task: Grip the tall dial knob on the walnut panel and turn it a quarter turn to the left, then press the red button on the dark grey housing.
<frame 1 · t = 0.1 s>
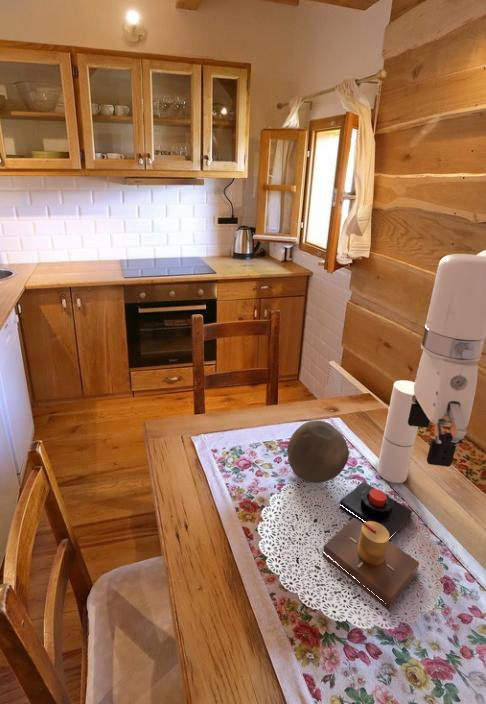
hand: (427, 443, 63), 33 cm above the table, tool pointing down, fingers open, 9 cm apart
button box: (374, 513, 92), on the table
knob panel: (368, 565, 80), on the table
cylindrical container: (391, 473, 105), on the table
red button: (377, 497, 90), point 4 cm above the table, slide at 0.1 cm
dial knob: (373, 542, 78), point 6 cm above the table, hinge at 0.0°
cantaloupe: (313, 477, 103), on the table
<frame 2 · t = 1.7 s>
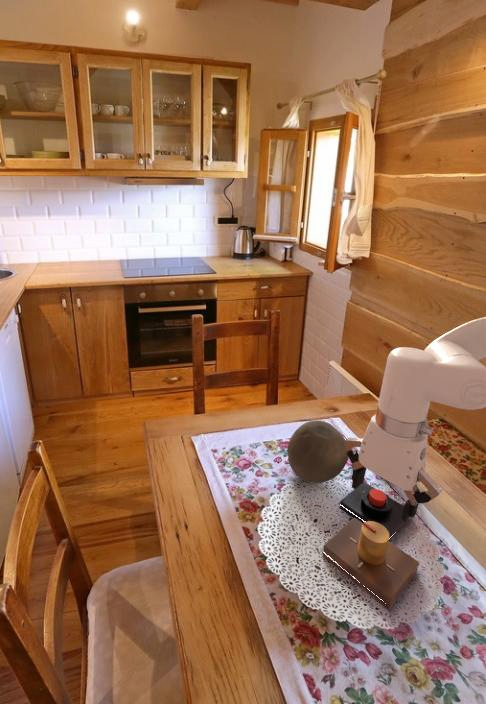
hand: (381, 500, 74), 16 cm above the table, tool pointing down, fingers open, 9 cm apart
nothing on the table moved.
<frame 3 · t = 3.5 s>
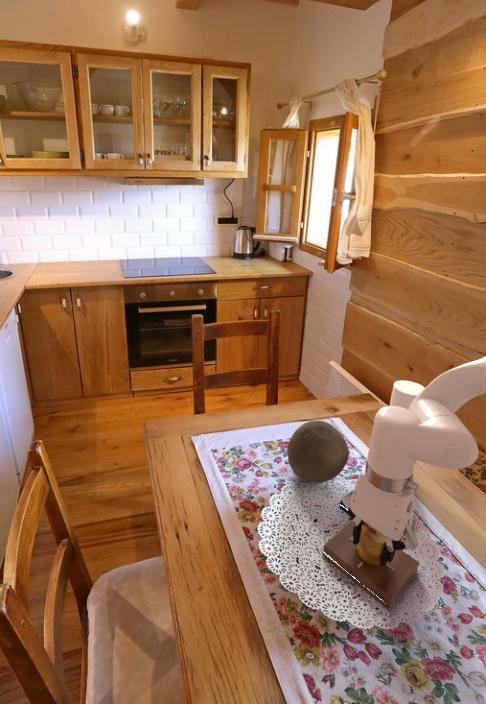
hand: (371, 549, 78), 4 cm above the table, tool pointing down, fingers closed on dial knob, 5 cm apart
dial knob: (373, 542, 78), point 6 cm above the table, hinge at -0.2°, touching gripper
everything else where it was.
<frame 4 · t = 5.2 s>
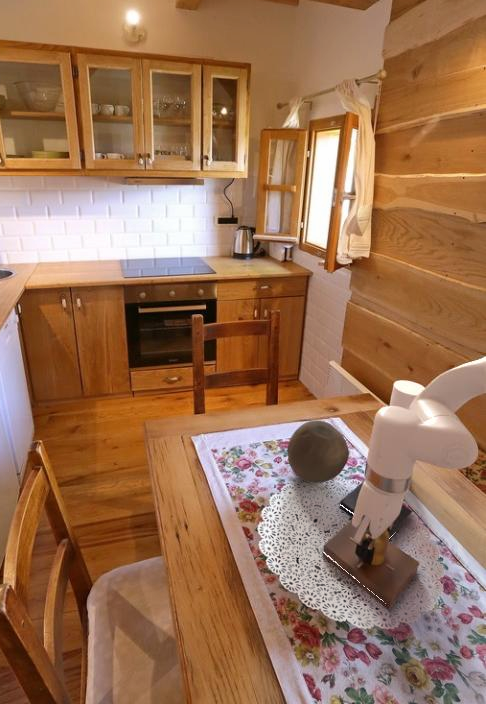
hand: (371, 549, 78), 4 cm above the table, tool pointing down, fingers closed on dial knob, 5 cm apart
dial knob: (373, 542, 78), point 6 cm above the table, hinge at 90.6°, touching gripper
everything else where it was.
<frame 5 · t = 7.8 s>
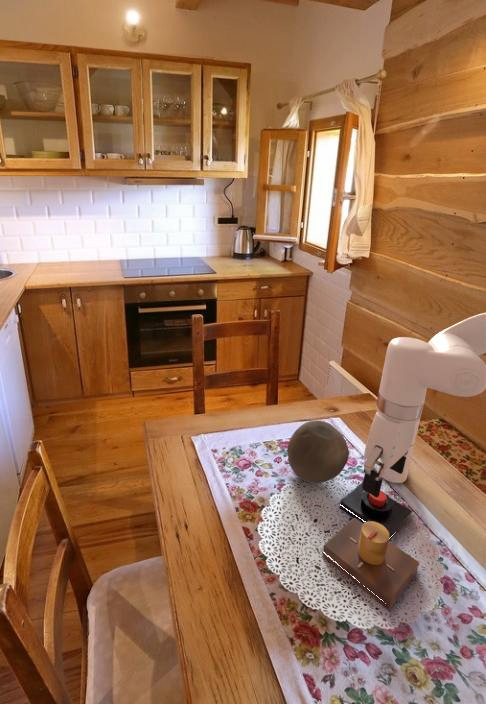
hand: (382, 480, 79), 16 cm above the table, tool pointing down, fingers open, 9 cm apart
dial knob: (373, 542, 78), point 6 cm above the table, hinge at 91.1°
everything else where it was.
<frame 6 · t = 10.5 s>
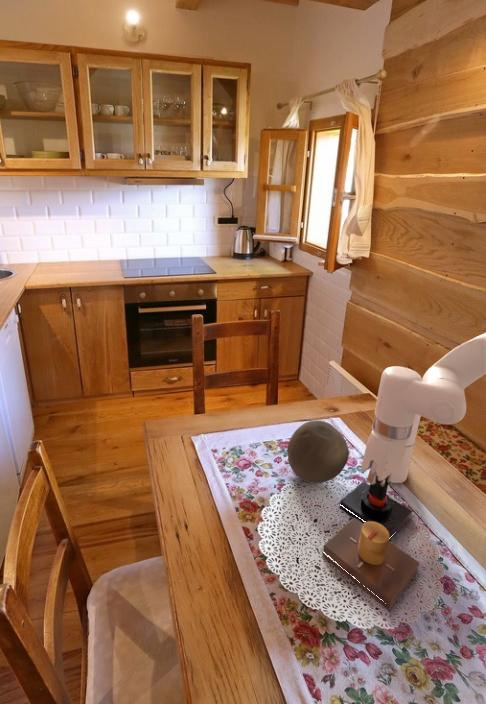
hand: (376, 494, 90), 5 cm above the table, tool pointing down, fingers closed
red button: (377, 498, 91), point 4 cm above the table, slide at -0.1 cm, touching gripper
everything else where it was.
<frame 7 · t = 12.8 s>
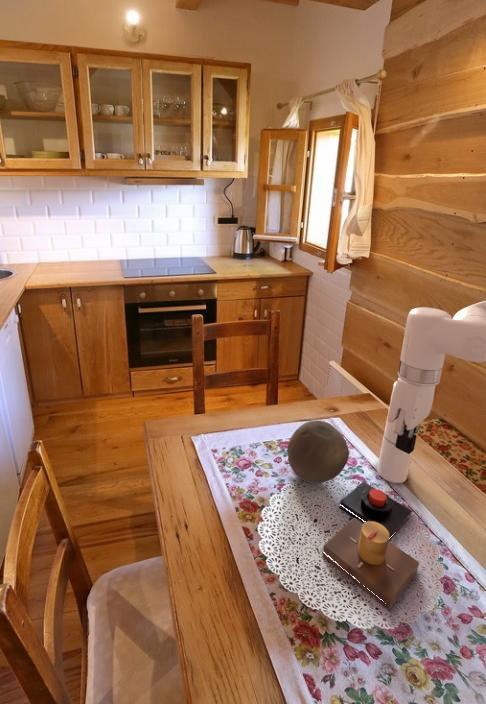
hand: (404, 449, 85), 18 cm above the table, tool pointing down, fingers closed
red button: (377, 497, 90), point 4 cm above the table, slide at 0.1 cm
everything else where it was.
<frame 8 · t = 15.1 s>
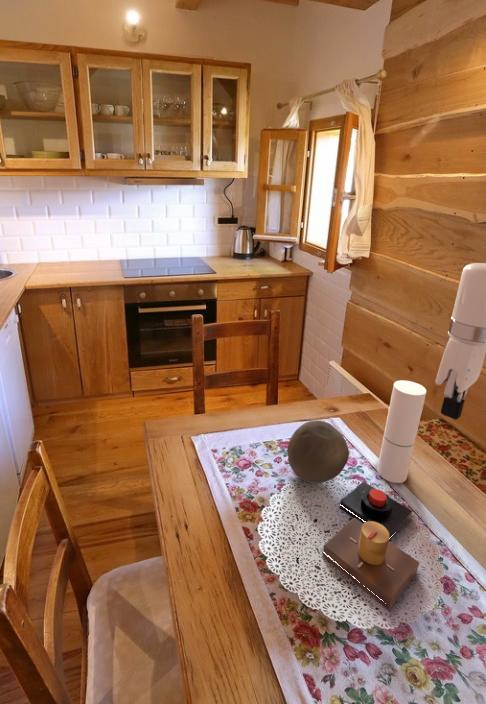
hand: (450, 415, 82), 27 cm above the table, tool pointing down, fingers closed
nothing on the table moved.
at the end: dial knob at +91° (first picture: +0°); red button pushed in 1.1 cm at the most during the clip, back to where it started at the end; red button slide at 0.1 cm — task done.
